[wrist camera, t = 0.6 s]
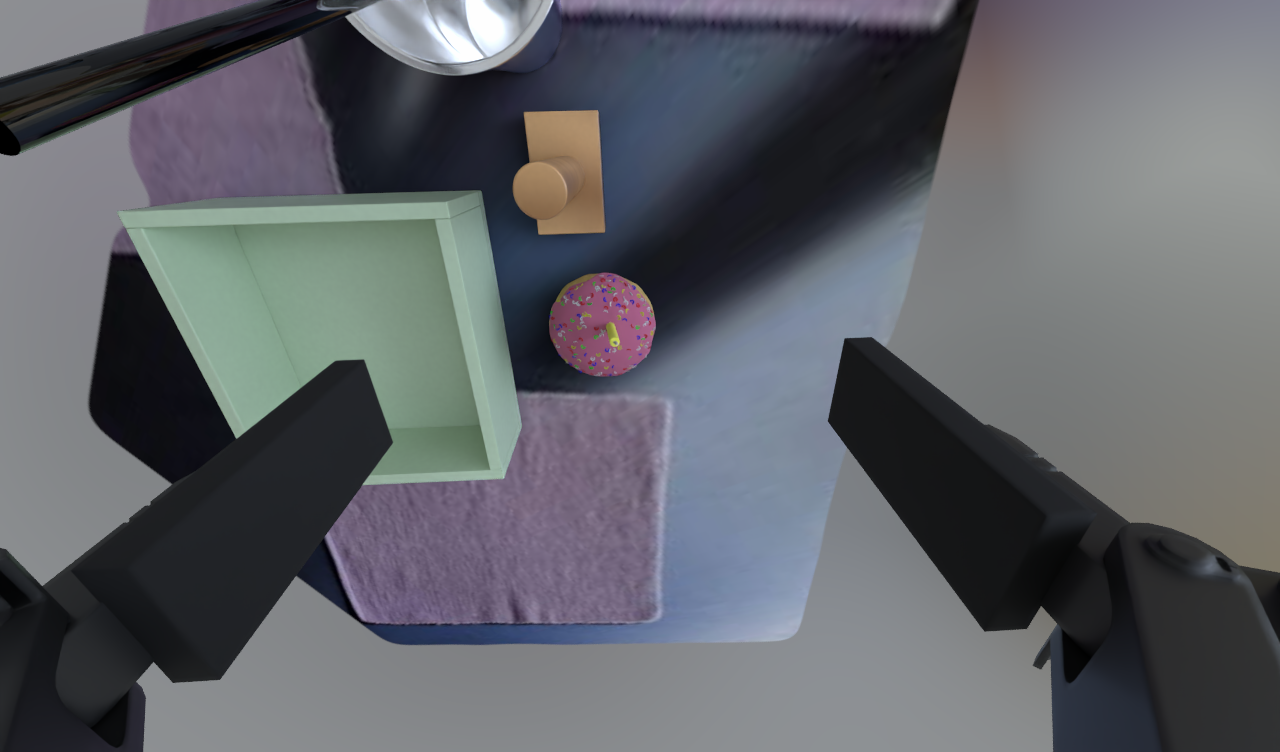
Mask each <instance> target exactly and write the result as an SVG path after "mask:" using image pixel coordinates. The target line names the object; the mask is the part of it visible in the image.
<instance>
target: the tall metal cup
mask: <svg viewBox="0 0 1280 752" xmlns="http://www.w3.org/2000/svg"><path fill="white" fill-rule="evenodd" d="M343 17H346V18H347V19H348V20H349V22H350V23H351V24H352V25H353V26H354V27H355V28H356V29H357V30H358V31H359V32H360V33H361V34H363V35H364V36H365V37H366V38H367V39H368V40H369V41H371V42H372V43H373V44H374V45H376V46H377V47H378V48H380V49H381V50H383V51H384V52H386V53H387V54H389V55H390V56H392V57H394V58H396V59H397V60H399V61H401V62H403V63H405V64H408V65H410V66H412V67H415V68H418V69H420V70H424V71H427V72H431V73H435V74H441V75H450V76H463V75H472V74H477V73H481V72H485V71H488V70H505V71H508V72H512V73H529V72H532V71H535V70H537V69H539V68H541V67H542V66H544V65H545V64H546V63H547V62H548V61H549V60H550V59H551V57H552V56H553V55H554V53H555V51H556V49H557V47H558V45H559V42H560V38H561V34H562V25H563V17H562V8H561V3H560V0H258V1H254V2H251V3H248V4H244V5H241V6H238V7H234V8H231V9H228V10H224V11H221V12H218V13H214V14H211V15H208V16H204V17H201V18H198V19H194V20H191V21H188V22H184V23H181V24H178V25H174V26H171V27H168V28H164V29H161V30H158V31H154V32H151V33H148V34H144V35H141V36H138V37H134V38H131V39H128V40H125V41H121V42H118V43H114V44H111V45H108V46H104V47H101V48H98V49H94V50H91V51H88V52H84V53H81V54H78V55H74V56H71V57H68V58H64V59H61V60H58V61H54V62H51V63H48V64H44V65H41V66H38V67H34V68H31V69H28V70H25V71H21V72H18V73H15V74H11V75H8V76H5V77H1V78H0V153H1V154H4V155H10V156H13V155H18V154H20V153H23V152H25V151H27V150H30V149H32V148H34V147H37V146H39V145H42V144H44V143H46V142H48V141H51V140H53V139H55V138H58V137H60V136H63V135H65V134H67V133H70V132H72V131H75V130H77V129H79V128H82V127H84V126H86V125H89V124H91V123H94V122H96V121H98V120H101V119H103V118H106V117H108V116H110V115H113V114H115V113H117V112H120V111H122V110H124V109H127V108H129V107H132V106H134V105H136V104H139V103H141V102H144V101H146V100H148V99H151V98H153V97H155V96H158V95H160V94H163V93H165V92H167V91H170V90H172V89H174V88H177V87H179V86H182V85H184V84H186V83H189V82H191V81H193V80H196V79H198V78H201V77H203V76H205V75H208V74H210V73H212V72H215V71H217V70H220V69H222V68H224V67H227V66H229V65H231V64H234V63H236V62H239V61H241V60H243V59H246V58H248V57H250V56H253V55H255V54H258V53H260V52H262V51H265V50H267V49H269V48H272V47H274V46H277V45H279V44H281V43H284V42H286V41H288V40H291V39H293V38H296V37H298V36H300V35H303V34H305V33H307V32H310V31H312V30H315V29H317V28H319V27H322V26H324V25H326V24H329V23H331V22H334V21H336V20H338V19H341V18H343Z"/></svg>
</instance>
